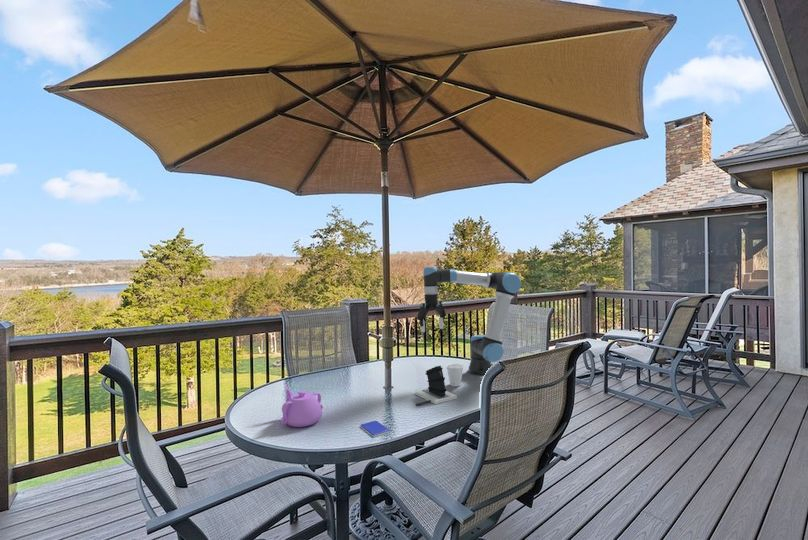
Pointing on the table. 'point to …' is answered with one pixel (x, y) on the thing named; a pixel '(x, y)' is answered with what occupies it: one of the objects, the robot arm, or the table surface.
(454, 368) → the cup
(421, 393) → the charging pad
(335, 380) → the table surface
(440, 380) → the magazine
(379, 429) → the hard drive
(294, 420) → the teapot
